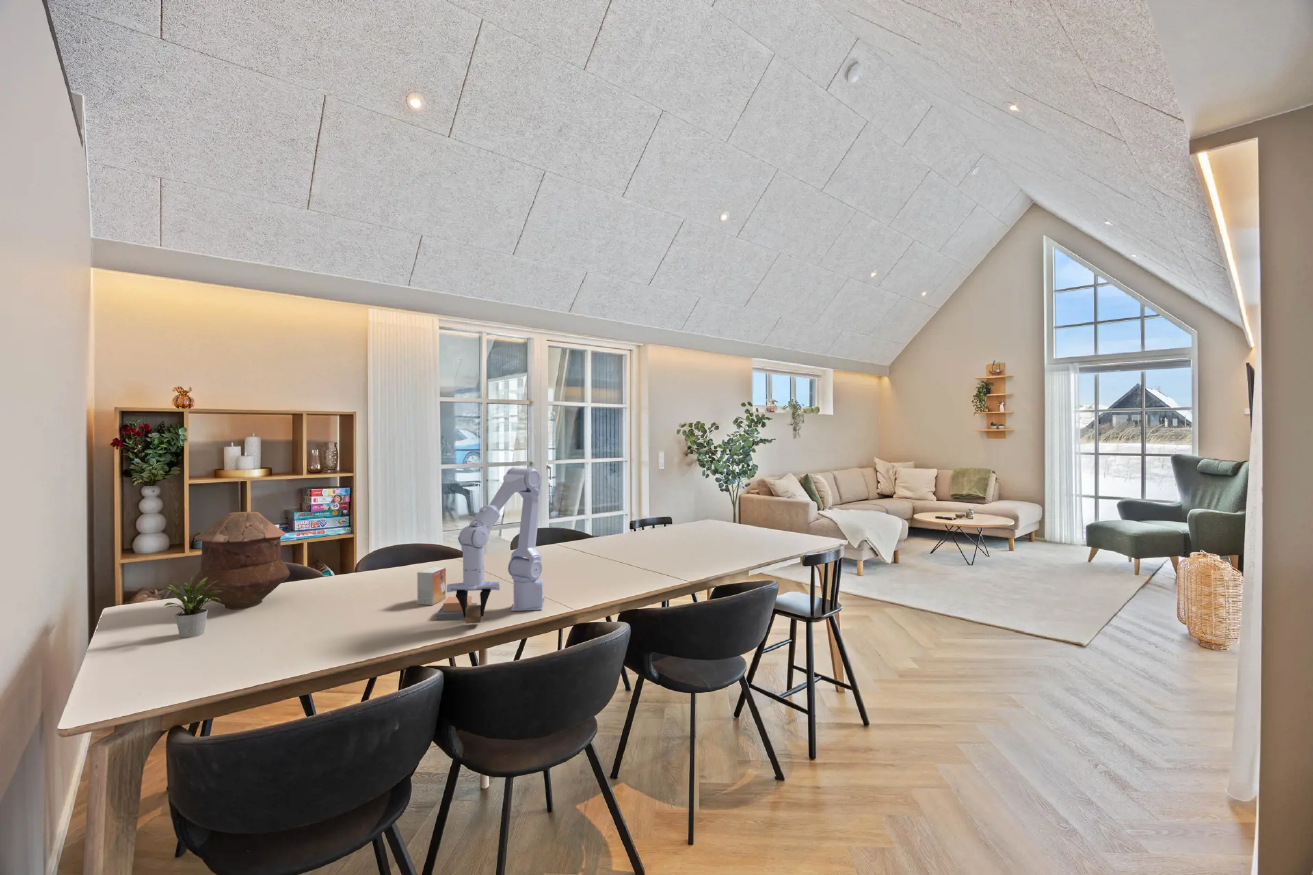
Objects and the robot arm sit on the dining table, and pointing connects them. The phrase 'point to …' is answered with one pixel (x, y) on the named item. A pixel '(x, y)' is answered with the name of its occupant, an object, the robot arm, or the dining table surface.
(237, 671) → the dining table surface
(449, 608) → the terracotta tile
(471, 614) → the walnut cube
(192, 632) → the house plant
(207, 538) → the pottery vessel
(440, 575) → the small box
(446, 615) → the slate tile
